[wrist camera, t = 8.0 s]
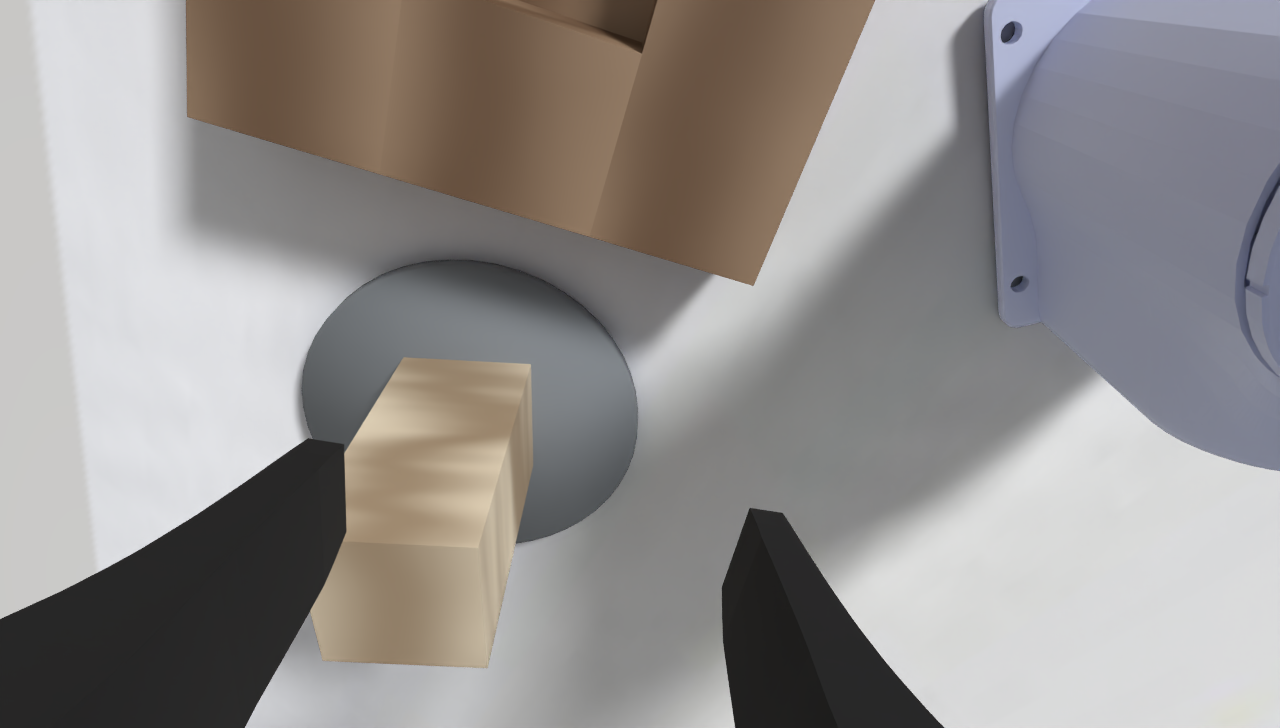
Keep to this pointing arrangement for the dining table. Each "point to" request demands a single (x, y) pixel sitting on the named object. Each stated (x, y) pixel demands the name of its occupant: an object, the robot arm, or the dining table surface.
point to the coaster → (489, 332)
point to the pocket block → (547, 105)
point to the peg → (430, 516)
